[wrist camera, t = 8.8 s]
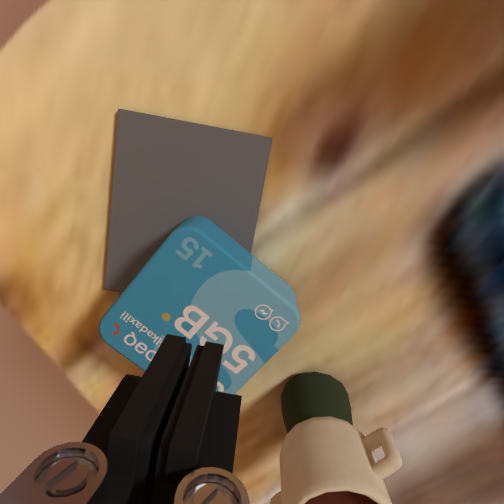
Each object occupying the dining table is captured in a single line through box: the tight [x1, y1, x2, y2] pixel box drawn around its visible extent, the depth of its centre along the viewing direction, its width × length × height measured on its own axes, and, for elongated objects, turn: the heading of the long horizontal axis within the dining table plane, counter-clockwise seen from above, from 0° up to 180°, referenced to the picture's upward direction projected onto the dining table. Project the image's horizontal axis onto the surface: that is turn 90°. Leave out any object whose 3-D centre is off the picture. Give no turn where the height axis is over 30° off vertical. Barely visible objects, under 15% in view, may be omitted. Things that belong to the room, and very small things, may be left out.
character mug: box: [270, 372, 402, 504], centre depth 29 cm, size 11×7×13 cm, turn 131°
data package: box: [99, 216, 300, 394], centre depth 31 cm, size 12×4×12 cm
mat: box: [104, 109, 272, 292], centre depth 31 cm, size 12×15×1 cm
